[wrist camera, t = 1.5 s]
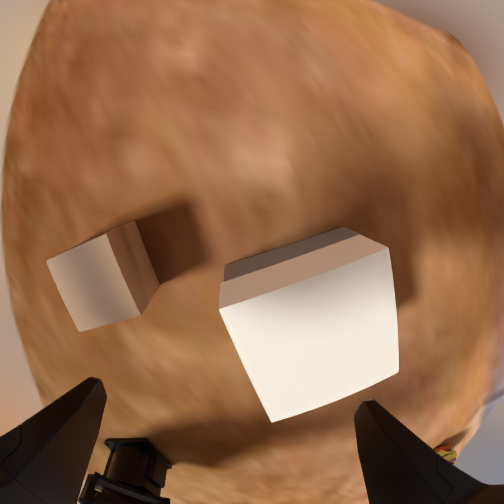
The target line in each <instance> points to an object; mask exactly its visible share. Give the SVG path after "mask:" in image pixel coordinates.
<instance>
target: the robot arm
mask: <svg viewBox="0 0 504 504" xmlns="http://www.w3.org/2000/svg"><path fill="white" fill-rule="evenodd" d="M106 400H107V394H106V391H105V388H104V385H103V383H102V381H101V379H98V378H95V377H89V378H87V379H86V380H84V381H83V382H81V383H80V384H79V385H77V386H76V387H74V388H73V389H71V390H70V391H68V392H67V393H65V394H64V395H63V396H61V397H60V398H58V399H57V400H55V401H54V402H52V403H51V404H49V405H48V406H46V407H45V408H44V409H42V410H41V411H39V412H38V413H36V414H35V415H33V416H32V417H30V418H29V419H27V420H26V421H24V422H23V423H22V425H21V424H20V425H18V426H17V427H16V428H14V429H13V430H11V431H9V432H8V433H6V434H4V435H3V436H1V437H0V504H77V501H79V503H80V504H170V498H166V497H165V498H164V497H160V493H161V488H164V486H165V480H166V473H167V469H171V468H172V465H171V464H170V463H169V462H168V461H167V460H166V459H165V458H164V457H163V456H162V455H161V454H160V453H159V452H158V451H157V450H156V449H155V448H154V447H153V446H152V444H151V443H150V442H149V441H148V440H146V439H125V440H105V441H104V444H105V445H106V446H107V447H108V448H109V449H110V450H111V453H110V455H109V458H108V462H107V465H106V468H105V471H104V474H103V475H100V473H97V472H95V474H88V476H87V479H86V482H85V485H84V487H83V490H82V492H81V495H80V497H79V494H80V490H81V487H82V483H83V480H84V477H85V473H86V470H87V467H88V464H89V461H90V458H91V455H92V452H93V449H94V446H95V443H96V440H97V437H98V434H99V429H100V425H101V421H102V416H103V412H104V408H105V404H106ZM354 423H355V430H356V439H357V447H358V454H359V459H360V463H361V467H362V472H363V476H364V481H365V485H366V490H367V494H368V499H369V504H504V485H503V484H502V485H488V484H484V483H482V482H480V481H478V480H476V479H475V478H473V477H471V476H470V475H468V474H466V473H464V472H463V471H461V470H459V469H458V468H457V467H455V466H454V465H452V464H451V463H450V462H448V461H447V460H446V459H444V458H443V457H442V456H441V455H439V454H438V453H437V454H436V451H434V450H433V449H432V448H431V447H429V446H428V445H427V444H426V443H425V442H423V441H422V440H421V439H420V438H419V437H417V436H416V435H415V434H414V433H413V432H412V431H410V430H409V429H408V428H407V427H406V426H404V425H403V424H402V423H401V422H400V421H399V420H397V419H396V418H395V417H394V416H393V415H392V414H390V413H389V412H388V411H387V410H386V409H385V408H383V407H382V406H381V405H380V404H379V403H378V402H377V401H375V400H373V399H369V400H363V401H362V402H361V404H360V406H359V407H358V409H357V411H356V412H355V415H354ZM95 489H98V490H100V491H101V492H99V491H96V490H95ZM78 497H79V500H78Z"/></svg>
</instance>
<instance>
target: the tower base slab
mask: <svg viewBox="0 0 504 504" xmlns="http://www.w3.org/2000/svg"><path fill="white" fill-rule="evenodd" d="M357 235H362V234H360V233H357V232H355V231H353V230H351V229H348V228H346V227H341V228H338V229H335V230H332V231H329V232H326V233H323V234H320V235H317V236H314V237H310V238H307V239H304V240H301V241H298V242H295V243H292V244H289V245H286V246H283V247H280V248H276V249H273V250H270V251H267V252H264V253H261V254H258V255H255V256H252V257H249V258H246V259H242V260H239V261H236V262H233V263H230V264H227V265H225V269H224V282H225V281H228V280H231V279H234V278H237V277H240V276H243V275H246V274H249V273H252V272H255V271H258V270H261V269H264V268H267V267H269V266H272V265H275V264H278V263H281V262H284V261H287V260H290V259H292V258H295V257H298V256H301V255H304V254H307V253H310V252H312V251H315V250H318V249H321V248H324V247H326V246H329V245H332V244H335V243H337V242H340V241H343V240H346V239H349V238H351V237H354V236H357ZM362 236H363V235H362Z"/></svg>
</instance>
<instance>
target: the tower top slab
mask: <svg viewBox="0 0 504 504" xmlns="http://www.w3.org/2000/svg"><path fill="white" fill-rule="evenodd" d="M219 311H220V313H221V316H222V318H223V320H224V323H225V325H226V327H227V329H228V332H229V334H230V336H231V338H232V341H233V343H234V345H235V347H236V350H237V352H238V354H239V356H240V358H241V361H242V363H243V365H244V367H245V369H246V371H247V373H248V376H249V378H250V380H251V382H252V384H253V386H254V388H255V390H256V392H257V394H258V396H259V398H260V400H261V402H262V404H263V406H264V408H265V410H266V412H267V414H268V416H269V418H270V420H271V422H275V421H278V420H282V419H285V418H288V417H292V416H295V415H298V414H301V413H304V412H307V411H310V410H313V409H316V408H318V407H321V406H324V405H326V404H329V403H332V402H334V401H337V400H339V399H342V398H344V397H347V396H349V395H351V394H354V393H356V392H358V391H361V390H363V389H365V388H367V387H369V386H372V385H374V384H376V383H378V382H380V381H382V380H384V379H386V378H388V377H390V376H392V375H394V374H396V373H398V372H399V355H398V329H397V314H396V302H395V292H394V283H393V274H392V267H391V260H390V253H389V248H388V247H386V246H384V245H382V244H380V243H378V242H375V241H373V240H371V239H369V238H366V237H364V236H362V235H357V236H354V237H351V238H349V239H346V240H343V241H340V242H337V243H335V244H332V245H329V246H326V247H324V248H321V249H318V250H315V251H312V252H310V253H307V254H304V255H301V256H298V257H295V258H292V259H290V260H287V261H284V262H281V263H278V264H275V265H272V266H269V267H267V268H264V269H261V270H258V271H255V272H252V273H249V274H246V275H243V276H240V277H237V278H234V279H231V280H228V281H225V282H222V283H220V297H219Z"/></svg>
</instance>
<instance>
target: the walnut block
mask: <svg viewBox="0 0 504 504" xmlns="http://www.w3.org/2000/svg"><path fill="white" fill-rule="evenodd" d="M46 262H47V264H48V267H49V269H50V272H51V274H52V276H53V279H54V281H55V283H56V286H57V288H58V290H59V292H60V294H61V297H62V299H63V301H64V303H65V305H66V307H67V309H68V311H69V313H70V315H71V317H72V319H73V321H74V323H75V325H76V327H77V328H78V330H79V332H81V331H85V330H89V329H93V328H97V327H101V326H104V325H108V324H112V323H116V322H119V321H123V320H127V319H130V318H134V317H138V316H141V315H142V313H143V311H144V310H145V308H146V307H147V305H148V303H149V302H150V300H151V298H152V297H153V295H154V294H155V292H156V290H157V289H158V287H159V286H160V283H159V281H158V279H157V276H156V274H155V271H154V269H153V267H152V264H151V262H150V259H149V257H148V254H147V251H146V249H145V246H144V244H143V241H142V238H141V236H140V233H139V230H138V227H137V225H136V222H135V221H132V222H130V223H127V224H125V225H122V226H120V227H117V228H115V229H113V230H110V231H108V232H105V233H103V234H101V235H98V236H96V237H94V238H92V239H89V240H87V241H85V242H83V243H80V244H78V245H76V246H74V247H72V248H70V249H68V250H66V251H64V252H62V253H60V254H59V255H57V256H55V257H53V258H51V259H49V260H47V261H46Z"/></svg>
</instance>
